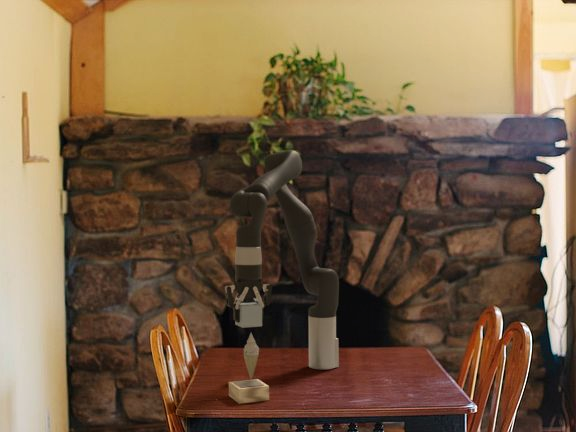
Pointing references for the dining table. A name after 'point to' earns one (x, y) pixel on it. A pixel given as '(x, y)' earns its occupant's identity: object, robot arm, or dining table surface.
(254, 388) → the base
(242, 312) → the cube
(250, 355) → the ice cream cone
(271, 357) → the dining table surface
